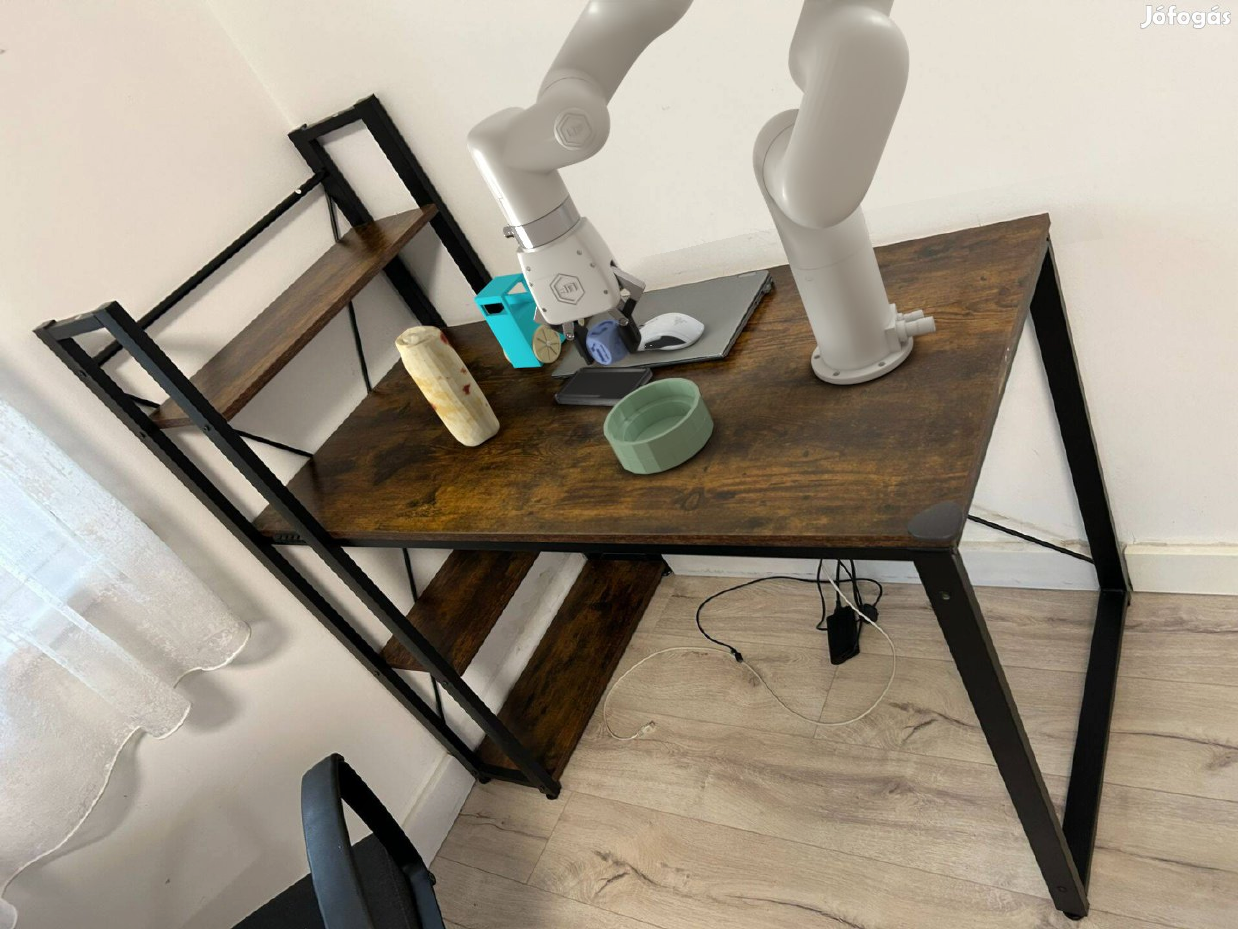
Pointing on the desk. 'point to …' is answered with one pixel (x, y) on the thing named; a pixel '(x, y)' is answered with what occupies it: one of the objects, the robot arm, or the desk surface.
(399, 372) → the desk surface
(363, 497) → the desk surface
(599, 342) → the decorative dice
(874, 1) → the robot arm
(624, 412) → the bowl
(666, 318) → the computer mouse
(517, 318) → the toy train
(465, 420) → the food model
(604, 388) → the phone
